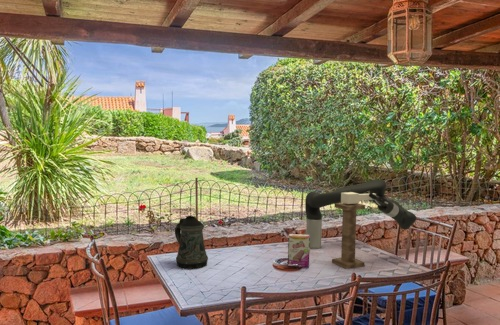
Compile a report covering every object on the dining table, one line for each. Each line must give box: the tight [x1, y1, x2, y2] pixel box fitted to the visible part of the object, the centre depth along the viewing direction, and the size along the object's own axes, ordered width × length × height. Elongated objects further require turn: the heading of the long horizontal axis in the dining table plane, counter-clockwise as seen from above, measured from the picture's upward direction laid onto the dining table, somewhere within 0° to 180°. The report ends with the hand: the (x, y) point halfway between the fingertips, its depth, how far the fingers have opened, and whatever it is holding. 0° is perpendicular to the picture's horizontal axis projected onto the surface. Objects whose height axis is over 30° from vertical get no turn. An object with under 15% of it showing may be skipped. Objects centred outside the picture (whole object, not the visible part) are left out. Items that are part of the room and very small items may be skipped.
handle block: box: [341, 192, 376, 204], centre depth 236 cm, size 20×6×5 cm, turn 116°
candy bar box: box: [287, 233, 311, 269], centre depth 230 cm, size 11×5×16 cm, turn 84°
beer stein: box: [174, 215, 209, 270], centre depth 231 cm, size 16×19×25 cm
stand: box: [331, 203, 366, 270], centre depth 234 cm, size 12×12×32 cm
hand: (367, 193), depth 238 cm, fingers closed on handle block, 2 cm apart
